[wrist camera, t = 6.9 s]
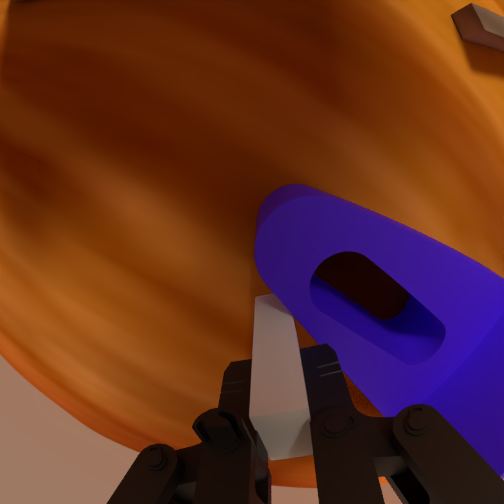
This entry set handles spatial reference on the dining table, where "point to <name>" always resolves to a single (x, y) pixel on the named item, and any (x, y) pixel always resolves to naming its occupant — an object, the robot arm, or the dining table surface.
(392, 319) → the bracket
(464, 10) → the handle
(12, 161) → the dining table surface
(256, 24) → the dining table surface
